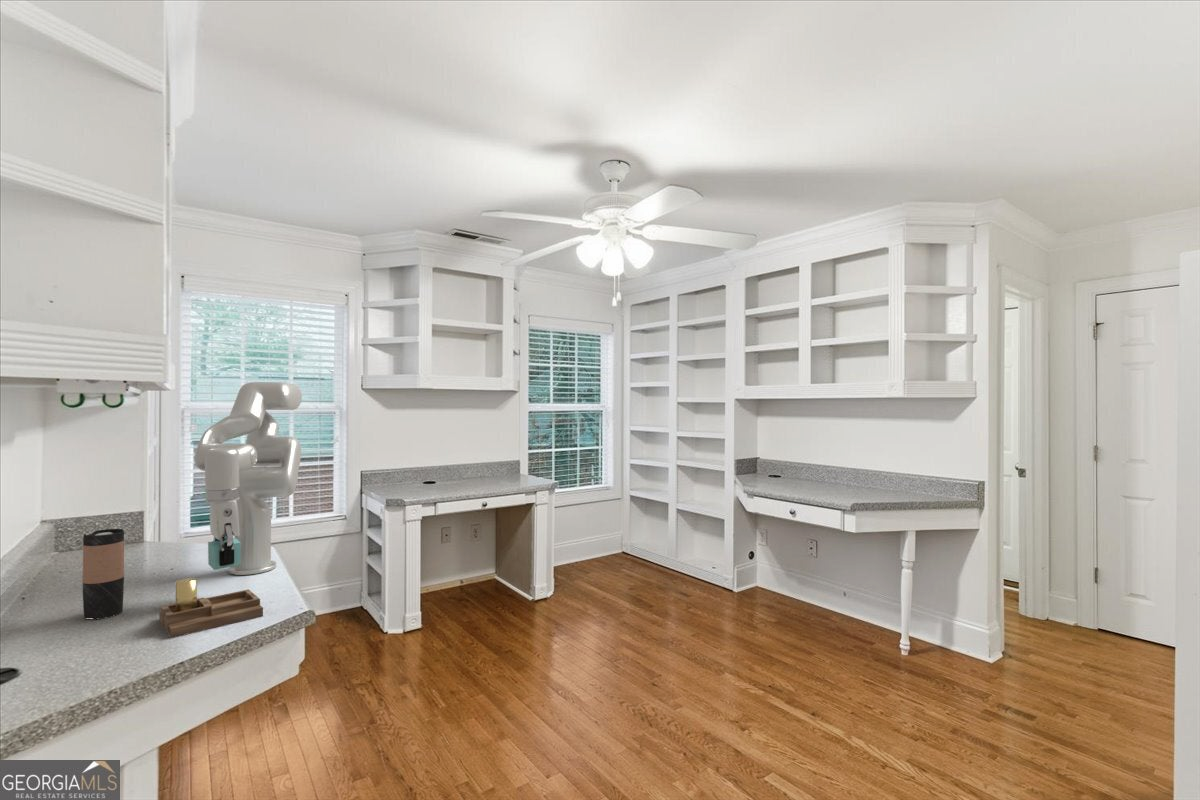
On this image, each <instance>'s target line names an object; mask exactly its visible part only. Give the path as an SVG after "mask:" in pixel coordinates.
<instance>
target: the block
mask: <svg viewBox="0 0 1200 800" xmlns="http://www.w3.org/2000/svg"><path fill="white" fill-rule="evenodd" d="M225 542H226V541H223V543H225ZM233 543H234V564H230V565H225V566H220V561H219V551H221V547H220V540H218V541H213V540H212V541H209V542H207V549H208V550H207V554H208V556H207V557H208V558H207V561H208V566H210V568H212V569H213V570H214V571H216V570H217V571H218V570H221V569H227V568H230V567H232V566H237V565H241V542H239V541H238V540H237V539H235V537H233Z"/></svg>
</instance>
